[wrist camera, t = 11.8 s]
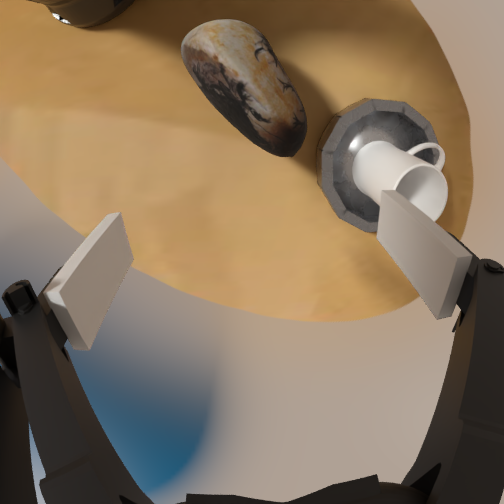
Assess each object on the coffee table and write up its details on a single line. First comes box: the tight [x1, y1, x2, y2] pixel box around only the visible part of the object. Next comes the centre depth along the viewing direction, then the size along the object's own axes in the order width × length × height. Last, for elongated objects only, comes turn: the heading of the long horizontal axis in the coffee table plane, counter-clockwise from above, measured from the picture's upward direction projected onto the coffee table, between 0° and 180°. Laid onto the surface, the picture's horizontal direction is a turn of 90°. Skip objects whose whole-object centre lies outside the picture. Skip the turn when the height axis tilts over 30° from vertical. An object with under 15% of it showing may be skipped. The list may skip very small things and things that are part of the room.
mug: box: [352, 141, 448, 222], centre depth 34 cm, size 12×8×12 cm
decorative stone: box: [181, 19, 307, 157], centre depth 28 cm, size 18×9×15 cm, turn 38°
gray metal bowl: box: [316, 98, 440, 232], centre depth 38 cm, size 19×19×3 cm
